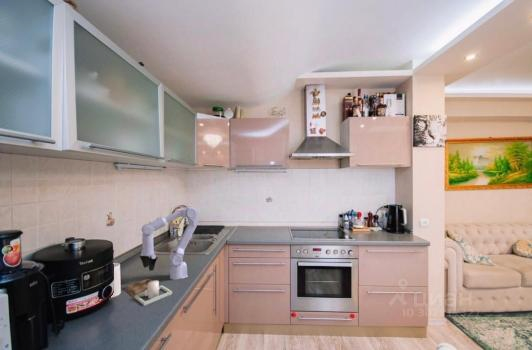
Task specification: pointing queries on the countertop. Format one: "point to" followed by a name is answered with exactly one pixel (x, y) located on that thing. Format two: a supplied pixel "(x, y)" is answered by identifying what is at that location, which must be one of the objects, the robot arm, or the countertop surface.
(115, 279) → the cup
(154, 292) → the white rounded piece
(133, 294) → the tray
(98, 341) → the countertop surface
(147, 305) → the tray
